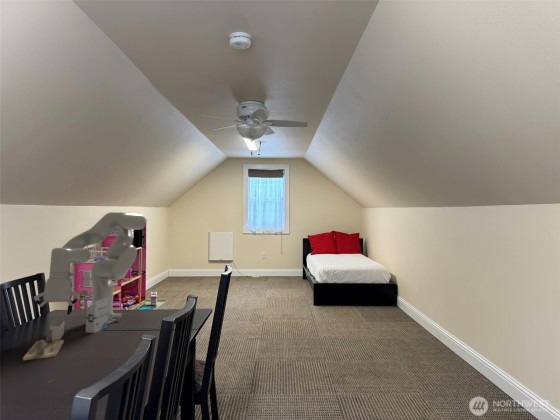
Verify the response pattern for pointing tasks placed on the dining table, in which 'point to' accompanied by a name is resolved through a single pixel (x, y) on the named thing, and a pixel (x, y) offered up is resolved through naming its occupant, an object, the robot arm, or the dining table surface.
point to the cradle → (44, 348)
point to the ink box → (97, 316)
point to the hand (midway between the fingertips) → (56, 314)
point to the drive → (57, 329)
